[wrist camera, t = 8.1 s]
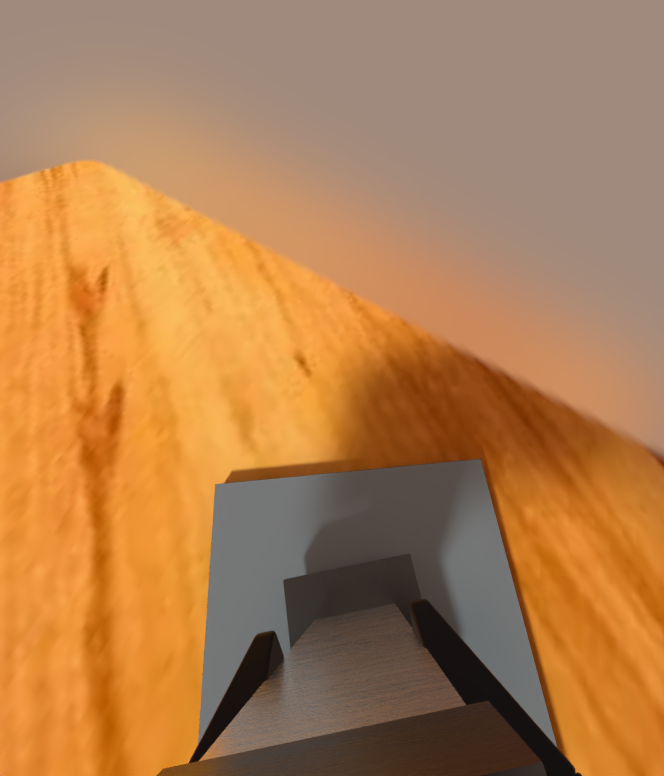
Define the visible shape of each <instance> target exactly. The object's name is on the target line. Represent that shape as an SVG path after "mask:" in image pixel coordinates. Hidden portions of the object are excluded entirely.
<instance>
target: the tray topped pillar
mask: <svg viewBox="0 0 664 776" xmlns="http://www.w3.org/2000/svg"><path fill="white" fill-rule="evenodd" d="M283 584H284V593H285V603H286V612H287V621H288V631H289V640H290V651H289V652H288V653H287V654H286V655H285V657H284V659H283V661H282V662H281V663H280V664H279V666H278V667H277V668H276V669H275V671H274V672H273V673H272V674H271V676H270V677H269V678H268V679H267V680H266V681H264V682H263V683H262V685H261V686H260V687H259V688H258V690H257V691H256V692H255V693H254V694H253V696H252V697H251V698H250V699H249V701H248V702H247V703H246V704H245V705H244V707H243V708H242V709H241V710H240V712H239V713H238V714H237V715H236V716H235V718H234V719H233V720H232V721H231V723H230V724H229V725H228V726H227V727H226V729H225V730H224V731H223V732H222V733H221V735H220V736H219V737H218V738H217V740H216V741H215V742H214V743H213V744H212V746H211V747H210V748H209V749H208V751H207V752H206V753H205V754H204V755H203V757H202V758H201V759H200V760H199V761H198V762H193V763H188V764H184V765H179V766H174V767H169V768H165V769H163V770H162V771H161V772H160V773H159V774H158V775H157V776H547V775H546V771H545V768H544V765H543V762H542V761H541V760H540V759H539V758H538V757H537V756H536V754H535V753H534V752H533V751H532V750H531V749H530V748H529V747H528V745H527V744H526V743H525V742H524V741H523V740H522V739H521V737H520V736H519V735H518V734H517V733H516V732H515V731H514V729H513V728H512V727H511V726H510V725H509V724H508V723H507V722H506V720H505V719H504V718H503V717H502V716H501V715H500V714H499V712H498V711H497V710H496V709H495V708H494V707H493V706H492V704H491V703H490V702H489V701H484V702H479V703H474V704H469V705H466V704H465V703H464V701H463V700H462V698H461V697H460V695H459V694H458V693H457V691H456V690H455V688H454V687H453V686H452V684H451V683H450V681H449V680H448V678H447V677H446V676H445V674H444V673H443V671H442V670H441V668H440V667H439V666H438V664H437V663H436V661H435V660H434V658H433V657H432V656H431V654H430V653H429V651H428V650H427V648H424V647H423V646H422V644H421V643H420V641H419V640H418V638H417V637H416V636H415V634H414V633H413V629H412V623H411V617H410V611H409V603H410V602H411V601H415V600H420V599H422V598H421V594H420V590H419V587H418V583H417V579H416V575H415V571H414V567H413V563H412V559H411V555H410V553H409V554H404V555H399V556H394V557H389V558H384V559H379V560H375V561H370V562H365V563H360V564H355V565H350V566H345V567H341V568H336V569H331V570H326V571H321V572H316V573H312V574H307V575H302V576H297V577H292V578H288V579H284V580H283Z"/></svg>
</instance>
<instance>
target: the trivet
mask: <svg viewBox="0 0 664 776" xmlns="http://www.w3.org/2000/svg"><path fill="white" fill-rule="evenodd" d="M409 553H410V555H411V559H412V563H413V567H414V571H415V575H416V579H417V583H418V587H419V590H420V594H421V598H422V599H427V600H428V601H429V602H430V603H431V604H432V605H433V606H434V608H435V609H436V610H437V611H438V612H439V613H440V614H441V616H442V617H443V618H444V619H445V620H446V621H447V622H448V624H449V625H450V626H451V627H452V628H453V629H454V630H455V632H456V633H457V634H458V635H459V636H460V637H461V638H462V639H463V641H464V642H465V643H466V644H467V645H468V646H469V647H470V649H471V650H472V651H473V652H474V653H475V654H476V655H477V657H478V658H479V659H480V660H481V661H482V662H483V663H484V665H485V666H486V667H487V668H488V669H489V670H490V671H491V673H492V674H493V675H494V676H495V677H496V678H497V679H498V681H499V682H500V683H501V684H502V685H503V686H504V687H505V689H506V690H507V691H508V692H509V693H510V694H511V695H512V697H513V698H514V699H515V700H516V701H517V702H518V703H519V705H520V706H521V707H522V708H523V709H524V710H525V711H526V713H527V714H528V715H529V716H530V717H531V718H532V719H533V721H534V722H535V723H536V724H537V725H538V726H539V727H540V729H541V730H542V731H543V732H544V733H545V734H546V735H547V736H548V738H549V739H550V740H551V741H552V742H553V743H554V744H555V746H556V747H557V744H556V741H555V737H554V733H553V729H552V726H551V722H550V718H549V714H548V711H547V707H546V703H545V699H544V696H543V692H542V688H541V684H540V680H539V677H538V673H537V669H536V665H535V662H534V658H533V654H532V650H531V647H530V643H529V639H528V635H527V632H526V628H525V624H524V620H523V617H522V613H521V609H520V605H519V602H518V598H517V594H516V590H515V587H514V583H513V579H512V575H511V571H510V568H509V564H508V560H507V556H506V553H505V549H504V545H503V541H502V538H501V534H500V530H499V526H498V523H497V519H496V515H495V511H494V508H493V504H492V500H491V496H490V493H489V489H488V485H487V481H486V478H485V474H484V470H483V466H482V462H481V459H473V460H463V461H453V462H442V463H432V464H421V465H411V466H401V467H390V468H380V469H369V470H359V471H349V472H338V473H328V474H317V475H307V476H297V477H286V478H276V479H265V480H255V481H245V482H234V483H224V484H215V498H214V513H213V528H212V543H211V558H210V573H209V589H208V604H207V619H206V634H205V649H204V664H203V680H202V695H201V710H200V725H199V740H198V744H199V742H200V740H201V738H202V736H203V735H204V733H205V731H206V729H207V727H208V725H209V723H210V721H211V719H212V717H213V715H214V713H215V712H216V710H217V708H218V706H219V704H220V702H221V700H222V698H223V696H224V694H225V692H226V690H227V689H228V687H229V685H230V683H231V681H232V679H233V677H234V675H235V673H236V671H237V669H238V668H239V666H240V664H241V662H242V660H243V658H244V656H245V654H246V652H247V650H248V648H249V646H250V645H251V643H252V641H253V639H254V637H255V636H256V635H257V634H258V633H261V632H266V631H271V630H273V631H275V632H276V634H277V637H278V640H279V643H280V646H281V649H282V652H283V655H284V657H285V655H286V654H287V653H288V652H289V651H290V640H289V631H288V621H287V612H286V603H285V593H284V584H283V580H284V579H288V578H292V577H297V576H302V575H307V574H312V573H316V572H321V571H326V570H331V569H336V568H341V567H345V566H350V565H355V564H360V563H365V562H370V561H375V560H379V559H384V558H389V557H394V556H399V555H404V554H409Z"/></svg>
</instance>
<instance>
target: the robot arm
mask: <svg viewBox="0 0 664 776" xmlns="http://www.w3.org/2000/svg"><path fill="white" fill-rule="evenodd" d="M409 611H410V617H411V623H412V629H413V633H414V634H415V636H416V637H417V638H418V640H419V641H420V643H421V644H422V646H423V647H424V648H427V650H428V651H429V653H430V654H431V656H432V657H433V658H434V660H435V661H436V663H437V664H438V666H439V667H440V668H441V670H442V671H443V673H444V674H445V676H446V677H447V678H448V680H449V681H450V683H451V684H452V686H453V687H454V688H455V690H456V691H457V693H458V694H459V695H460V697H461V698H462V700H463V701H464V703H465V704H466V705H469V704H474V703H479V702H484V701H489V702H490V703H491V704H492V706H493V707H494V708H495V709H496V710H497V711H498V712H499V714H500V715H501V716H502V717H503V718H504V719H505V720H506V722H507V723H508V724H509V725H510V726H511V727H512V728H513V729H514V731H515V732H516V733H517V734H518V735H519V736H520V737H521V739H522V740H523V741H524V742H525V743H526V744H527V745H528V747H529V748H530V749H531V750H532V751H533V752H534V753H535V754H536V756H537V757H538V758H539V759H540V760H541V761H542V762H543V765H544V768H545V771H546V775H547V776H582V775H581V774H580V773H575V768H574V766H573V765H572V764H571V763H570V762H569V760H568V759H567V758H566V757H565V756H564V755H563V754H562V752H561V751H560V750H559V749H558V748H557V747H556V746H555V744H554V743H553V742H552V741H551V740H550V739H549V738H548V736H547V735H546V734H545V733H544V732H543V731H542V730H541V729H540V727H539V726H538V725H537V724H536V723H535V722H534V721H533V719H532V718H531V717H530V716H529V715H528V714H527V713H526V711H525V710H524V709H523V708H522V707H521V706H520V705H519V703H518V702H517V701H516V700H515V699H514V698H513V697H512V695H511V694H510V693H509V692H508V691H507V690H506V689H505V687H504V686H503V685H502V684H501V683H500V682H499V681H498V679H497V678H496V677H495V676H494V675H493V674H492V673H491V671H490V670H489V669H488V668H487V667H486V666H485V665H484V663H483V662H482V661H481V660H480V659H479V658H478V657H477V655H476V654H475V653H474V652H473V651H472V650H471V649H470V647H469V646H468V645H467V644H466V643H465V642H464V641H463V639H462V638H461V637H460V636H459V635H458V634H457V633H456V632H455V630H454V629H453V628H452V627H451V626H450V625H449V624H448V622H447V621H446V620H445V619H444V618H443V617H442V616H441V614H440V613H439V612H438V611H437V610H436V609H435V608H434V606H433V605H432V604H431V603H430V602H429V601H428V600H427V599H420V600H415V601H411V602H410V603H409ZM283 659H284V655H283V652H282V649H281V646H280V643H279V640H278V637H277V634H276V632H275V631H273V630H271V631H266V632H261V633H258V634H257V635H256V636H255V637H254V639H253V641H252V643H251V645H250V646H249V648H248V650H247V652H246V654H245V656H244V658H243V660H242V662H241V664H240V666H239V668H238V669H237V671H236V673H235V675H234V677H233V679H232V681H231V683H230V685H229V687H228V689H227V690H226V692H225V694H224V696H223V698H222V700H221V702H220V704H219V706H218V708H217V710H216V712H215V713H214V715H213V717H212V719H211V721H210V723H209V725H208V727H207V729H206V731H205V733H204V735H203V736H202V738H201V740H200V742H199V744H198V746H197V748H196V750H195V752H194V754H193V756H192V757H191V759H190V761H189V763H193V762H198V761H199V760H200V759H201V758H202V757H203V755H204V754H205V753H206V752H207V751H208V749H209V748H210V747H211V746H212V744H213V743H214V742H215V741H216V740H217V738H218V737H219V736H220V735H221V733H222V732H223V731H224V730H225V729H226V727H227V726H228V725H229V724H230V723H231V721H232V720H233V719H234V718H235V716H236V715H237V714H238V713H239V712H240V710H241V709H242V708H243V707H244V705H245V704H246V703H247V702H248V701H249V699H250V698H251V697H252V696H253V694H254V693H255V692H256V691H257V690H258V688H259V687H260V686H261V685H262V683H263V682H264V681H266V680H267V679H268V678H269V677H270V676H271V674H272V673H273V672H274V671H275V669H276V668H277V667H278V666H279V664H280V663H281V662H282V661H283Z"/></svg>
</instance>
